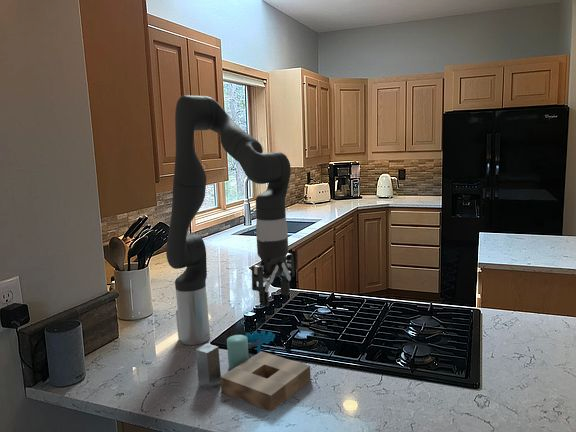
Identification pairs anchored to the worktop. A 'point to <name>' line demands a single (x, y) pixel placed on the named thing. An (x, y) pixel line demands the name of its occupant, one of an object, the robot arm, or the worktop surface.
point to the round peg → (237, 350)
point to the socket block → (265, 380)
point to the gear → (259, 339)
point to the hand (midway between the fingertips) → (275, 300)
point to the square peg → (208, 366)
